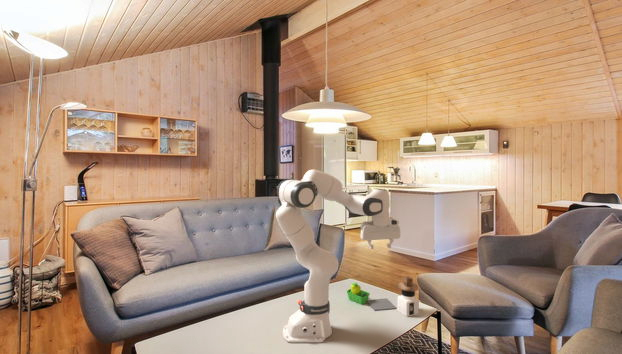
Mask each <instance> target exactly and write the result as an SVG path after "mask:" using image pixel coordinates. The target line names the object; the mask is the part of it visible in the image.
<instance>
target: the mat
mask: <svg viewBox="0 0 622 354" xmlns="http://www.w3.org/2000/svg"><path fill="white" fill-rule="evenodd" d="M366 303H367V304H368V305H369V306H370V307H371V308H372V310H374V312H376V311H387V310H388V311H389V310H396V309H397V307H396V306H395V305H394V304H393V303H392V302H391V301H390V300H389V299H388V298H387V297H386V298H375V299H374V298H373V299H368V300H367V302H366Z"/></svg>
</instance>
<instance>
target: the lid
mask: <svg viewBox="0 0 622 354" xmlns="http://www.w3.org/2000/svg"><path fill="white" fill-rule="evenodd" d="M397 288H398V289H399V290H401V291H402V290H403V291H409V292H413V291H415V292H417V291H419V285H418V284H416V283H415V282H414V281H413V277H411V276H403V281H400V282H399V283H398V284H397Z"/></svg>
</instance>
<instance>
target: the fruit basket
mask: <svg viewBox="0 0 622 354" xmlns="http://www.w3.org/2000/svg"><path fill="white" fill-rule="evenodd" d="M346 294H347V296H348V297H347V298H348V300H349V301H352V302H354V303H355V304H358V303H359V304H358V305H361V306H362V305H364V304H366V303H368V302H367V300H369V296H370V292H368V291H366V290H362V288H361V286H360V285H359V284H357V282H353V283H351V285H350V289H347V290H346Z"/></svg>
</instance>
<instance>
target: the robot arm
mask: <svg viewBox="0 0 622 354" xmlns="http://www.w3.org/2000/svg"><path fill="white" fill-rule="evenodd" d="M276 194H277V197H278V198H277V199H278V200H277V202H278V204H279V205H280V207H278V209H277V210H276V212H275V219H276V221H277V224H278V226H279V228H280V229H281V232H283V234H284V236H285V237H286V239H287V240H288V242H289V243H290V245H291V246H292V248H293V250H294V252H295V258H296V260H297V262H298V263H299V265H300V266H302V267H303V268H306V269H307V270H308V271H309V278H308V280H306V282H304V284H303V286H304V289H303V290H304V291H303V292H304V293H303V294H304V298H303V301H302V299H298V300H297V304H298V306H299V308H298V310H296V311H295V312H293V313H292V314H291V315H290V316H289V318H288V321H287V324H285V325H284V326H283V328H282V336H283V339H284V340H285V341H286V342H288V343H295V344H296V343H323V342H324V341H325V340H326V339H327V338H328V337H330V336H331V335H332V333H333V329H332V325H331V320H330V311H331V308H330V307H331V305H330V300H329V298H330V297H329V290H330V289H329V287H330V282H331V278H332V277H333V276H334V275H336V273H337V272H338V269H339V259H338V258H337V256H335V255H334V253H332V252H331V251H329V250H327V249H325V248H323V247H320V246H319V245H318V244H317V243H316V240H315V232H314V231H313V229H312V227H311V226H310V224H309V223H308V221H307V220H306V218H305V217H304V215H303V213H302V208H303V209H305V208H308V207H310V206H312V205H313V203H314V201H316V197H319V198H321V199H322V200H326V201H329V202H336V203H338V204H339V205H341V206H344V208H345V209H346V211H348V212H349V213H350V214H353V215H354V214H355V215H360V216H365V217H371V220H367V221H363V222H361V223H360V235H359V237H360V239H361V240H362V241H367V243H368V245H369V249H370V250H373V249H374V244H372V241H381V240H388V241H389V242H388V243H386V247H387V248H388V249H389V248H390V249H391V248H392V245H393V242H394V240H396V239H397V240H398V239H400V238H401V226H399V224H400V221H399V220H398V219H396V218H393V217H390V215H391V214H390V211H389V210H390V206H391V205H390V203H391V202H390V194H389V191H388V190H387V189H385V188H384V189H382V188H373V189H372V191H371V192H370V193H368V194H367V195H362V194H357V193H348V192H346V191H344V190H343V183H342V182H341V181H340V180H339V179H338V178H336V177H335V176H333V175H331V174H328V173H326V172H324V171H322V170H318V169H309V170H307V171H306V172H305V174H303V176H302V178H301V180H298V179H291V178H287V179H284V180H282V181H280V182H279V184H278V185H277V188H276Z"/></svg>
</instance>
